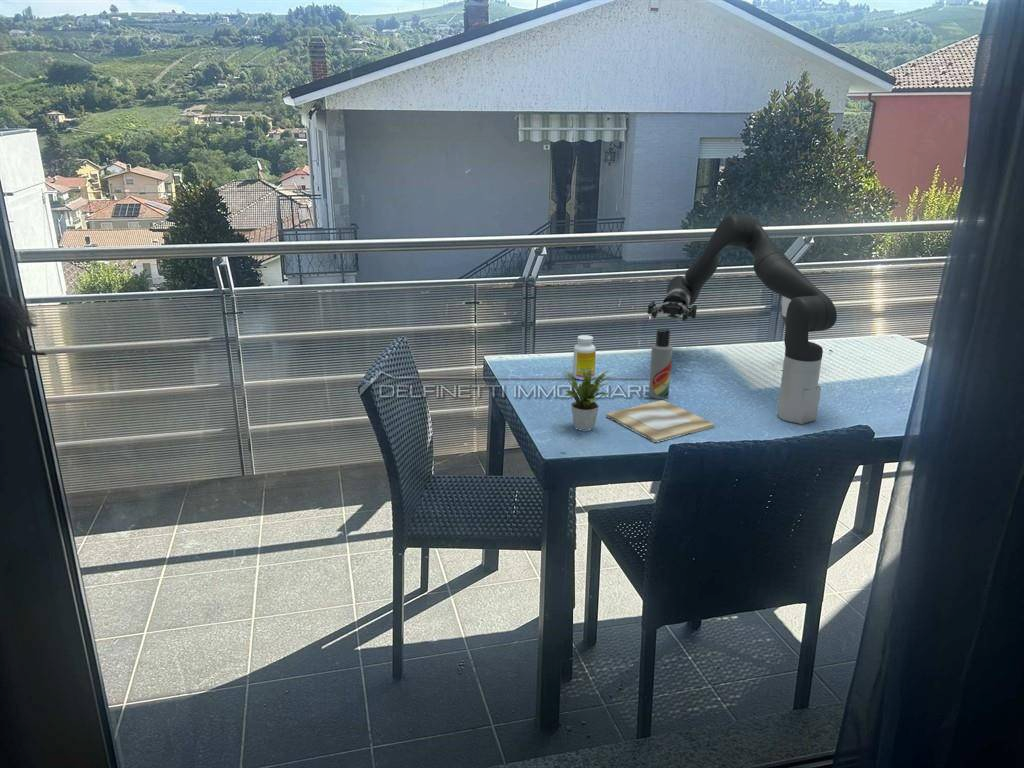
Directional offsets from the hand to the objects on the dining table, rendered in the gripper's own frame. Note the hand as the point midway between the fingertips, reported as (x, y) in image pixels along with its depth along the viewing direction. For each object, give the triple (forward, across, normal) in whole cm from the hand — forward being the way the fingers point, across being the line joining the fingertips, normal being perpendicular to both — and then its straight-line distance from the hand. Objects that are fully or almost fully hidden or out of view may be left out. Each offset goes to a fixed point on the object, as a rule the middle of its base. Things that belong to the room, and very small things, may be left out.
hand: (669, 316), depth 230 cm
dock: (+31, +3, +21) cm, 37 cm away
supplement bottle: (+3, -24, +21) cm, 32 cm away
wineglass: (-28, +36, +21) cm, 50 cm away
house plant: (+42, -13, +21) cm, 49 cm away
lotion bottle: (+12, 0, +21) cm, 24 cm away
